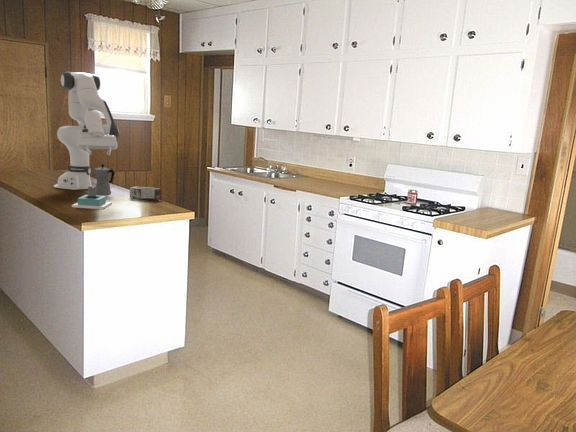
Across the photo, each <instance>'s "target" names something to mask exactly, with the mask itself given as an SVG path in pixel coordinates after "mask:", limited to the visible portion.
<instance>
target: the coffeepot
mask: <svg viewBox="0 0 576 432" xmlns="http://www.w3.org/2000/svg"><path fill="white" fill-rule="evenodd" d="M93 170H94V175H95V179H96V183H95V187H96V195H99V196H106V195H107V196H108V195H111V193H112V191H111V186H110V183H113V180H114V177H115V173H116V172H115V171H114V169H112V168H107V167H105V164H103V163H102V164H101V166H100V167H95V168H93Z"/></svg>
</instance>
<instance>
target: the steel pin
mask: <svg viewBox="0 0 576 432" xmlns="http://www.w3.org/2000/svg"><path fill="white" fill-rule="evenodd" d="M87 191H88V192H87V195H88V198H93V199H96V195H97V194H96V185H95V186H94V185H92V186H89V187H88V189H87Z"/></svg>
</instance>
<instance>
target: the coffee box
mask: <svg viewBox="0 0 576 432" xmlns="http://www.w3.org/2000/svg"><path fill="white" fill-rule="evenodd" d="M129 198H131V199H137V200H138V199H139V200H144V201H154V202H155V201H159V200H161V199H162V188H157V187H148V186H140V185H136V186H132V187H130V188H129Z"/></svg>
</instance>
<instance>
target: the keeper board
mask: <svg viewBox="0 0 576 432" xmlns="http://www.w3.org/2000/svg"><path fill="white" fill-rule="evenodd" d="M111 205H113V203H112V201H107V196H106V195H98V194H96V199H93V198H88V194H84V195H82V196H80V197H77V202H75V203H74V204H71V208H74V209H75V208H76V209H77V208H78V209H92V210H105V209H106V208H108V207H110V206H111ZM104 208H105V209H104Z"/></svg>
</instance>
